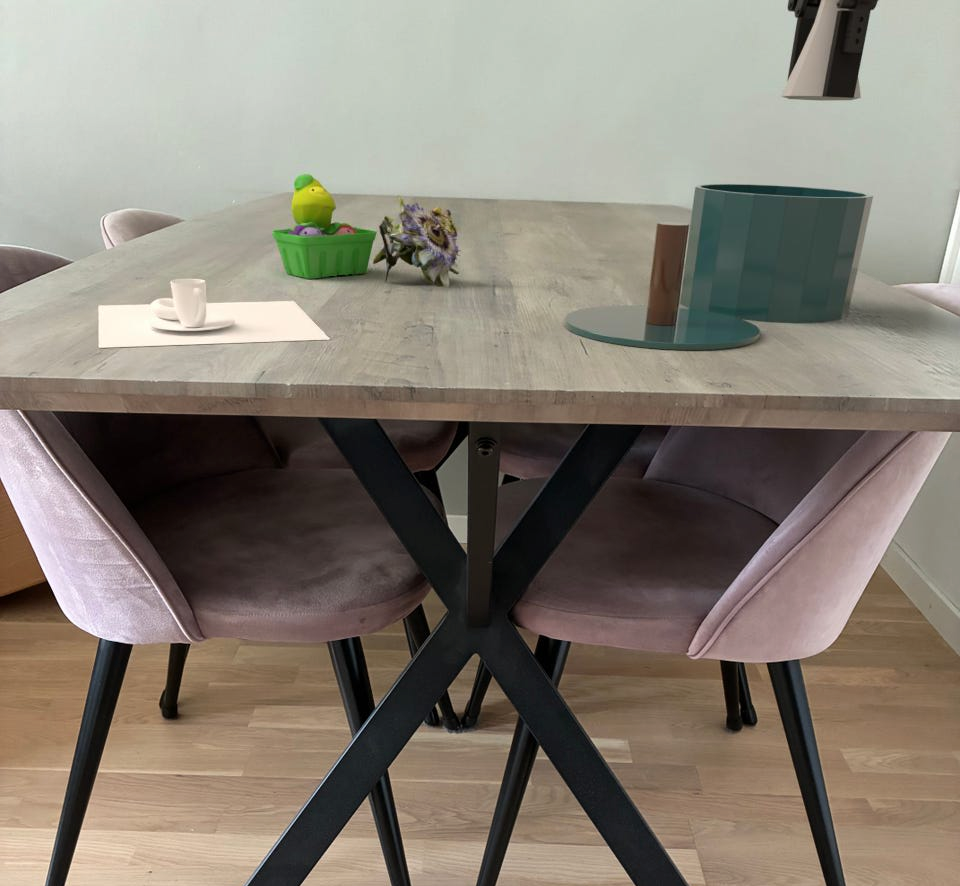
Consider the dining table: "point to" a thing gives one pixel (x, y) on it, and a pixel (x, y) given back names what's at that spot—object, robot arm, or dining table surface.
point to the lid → (663, 309)
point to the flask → (816, 59)
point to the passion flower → (421, 242)
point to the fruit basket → (321, 236)
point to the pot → (774, 251)
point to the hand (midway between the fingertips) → (817, 97)
